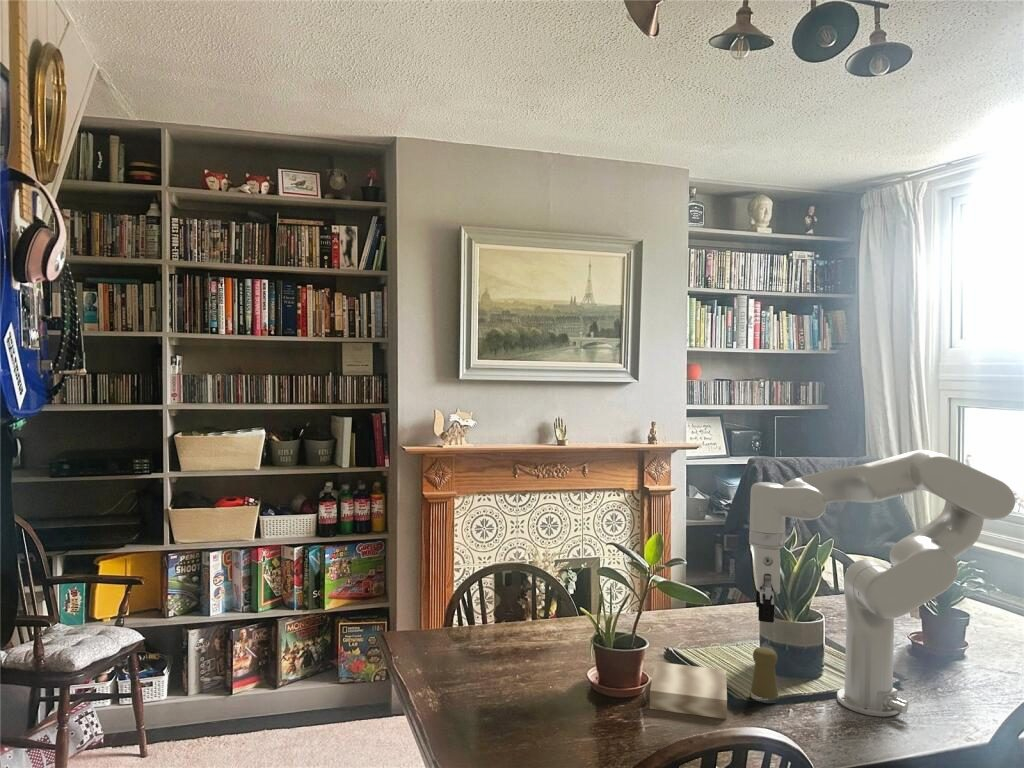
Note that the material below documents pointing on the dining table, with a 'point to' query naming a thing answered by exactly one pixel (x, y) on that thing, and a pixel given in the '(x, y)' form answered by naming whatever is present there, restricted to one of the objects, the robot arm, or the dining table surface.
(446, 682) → the dining table surface
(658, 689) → the birch base
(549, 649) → the dining table surface
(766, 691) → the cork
